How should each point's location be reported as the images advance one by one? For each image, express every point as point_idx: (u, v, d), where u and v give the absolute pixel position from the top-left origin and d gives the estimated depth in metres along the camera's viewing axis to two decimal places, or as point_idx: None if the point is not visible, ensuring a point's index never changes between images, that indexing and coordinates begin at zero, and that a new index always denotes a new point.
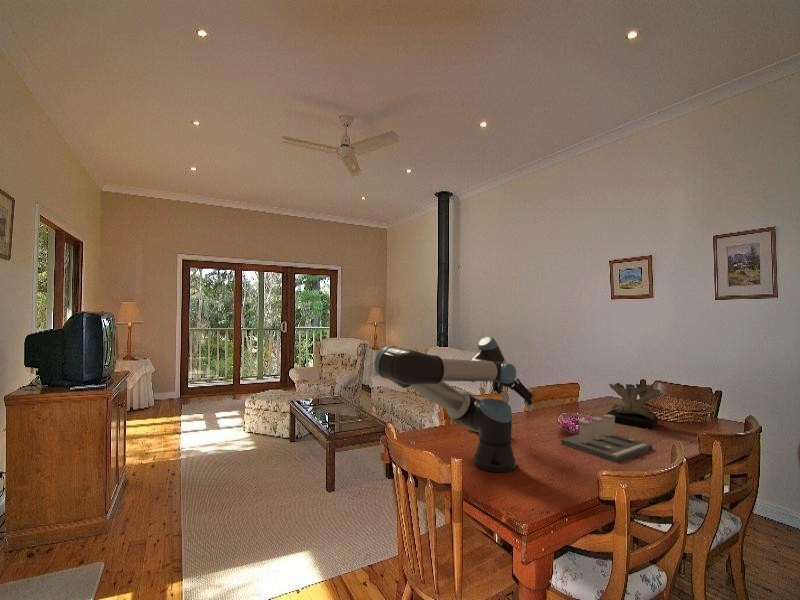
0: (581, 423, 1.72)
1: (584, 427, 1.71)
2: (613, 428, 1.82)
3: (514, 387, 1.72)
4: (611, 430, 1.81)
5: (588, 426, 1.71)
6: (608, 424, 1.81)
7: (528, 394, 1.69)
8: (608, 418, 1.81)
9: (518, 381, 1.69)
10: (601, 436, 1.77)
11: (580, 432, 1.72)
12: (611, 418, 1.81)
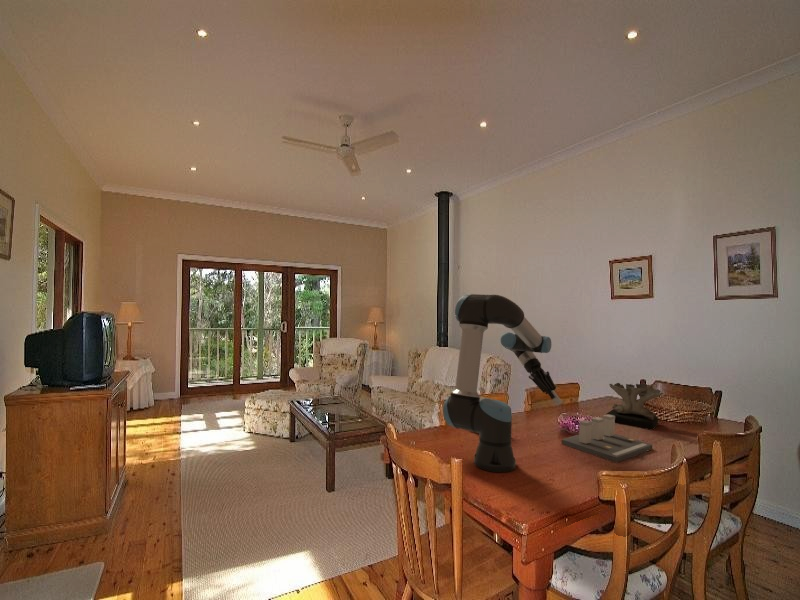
0: (581, 423, 1.72)
1: (584, 427, 1.71)
2: (613, 428, 1.82)
3: None
4: (611, 430, 1.81)
5: (588, 426, 1.71)
6: (608, 424, 1.81)
7: None
8: (608, 418, 1.81)
9: None
10: (601, 436, 1.77)
11: (580, 432, 1.72)
12: (611, 418, 1.81)
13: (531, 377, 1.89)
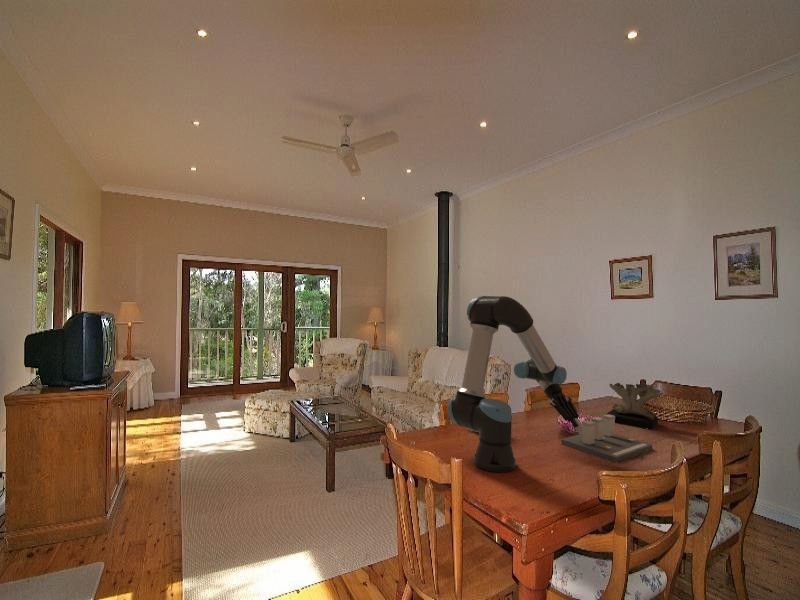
0: (584, 424, 1.71)
1: (587, 428, 1.70)
2: (613, 428, 1.82)
3: None
4: (611, 430, 1.81)
5: (591, 427, 1.70)
6: (608, 424, 1.81)
7: None
8: (608, 418, 1.81)
9: None
10: (601, 436, 1.77)
11: (583, 433, 1.71)
12: (611, 418, 1.81)
13: (553, 404, 1.80)
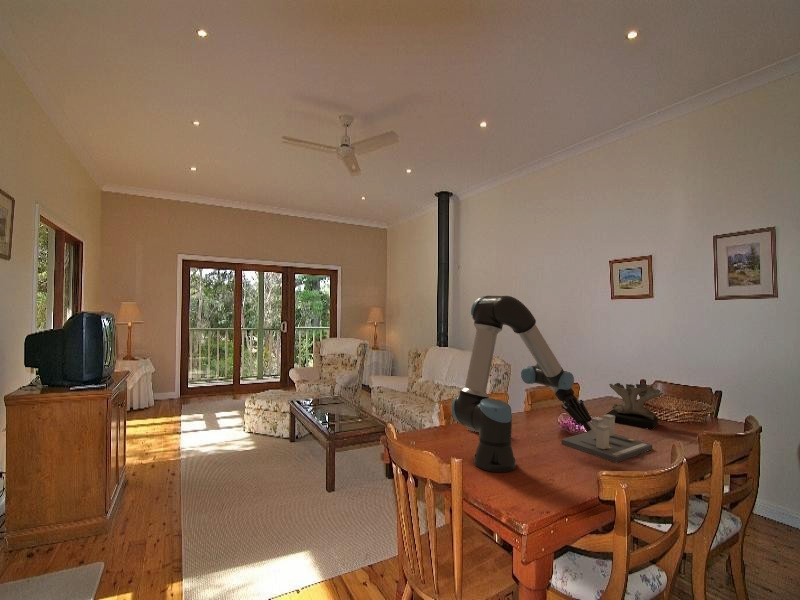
0: (598, 428, 1.66)
1: (601, 432, 1.65)
2: (613, 428, 1.82)
3: None
4: (611, 430, 1.81)
5: (606, 431, 1.65)
6: (608, 424, 1.81)
7: None
8: (608, 418, 1.81)
9: None
10: None
11: (598, 438, 1.66)
12: (611, 418, 1.81)
13: (564, 407, 1.75)
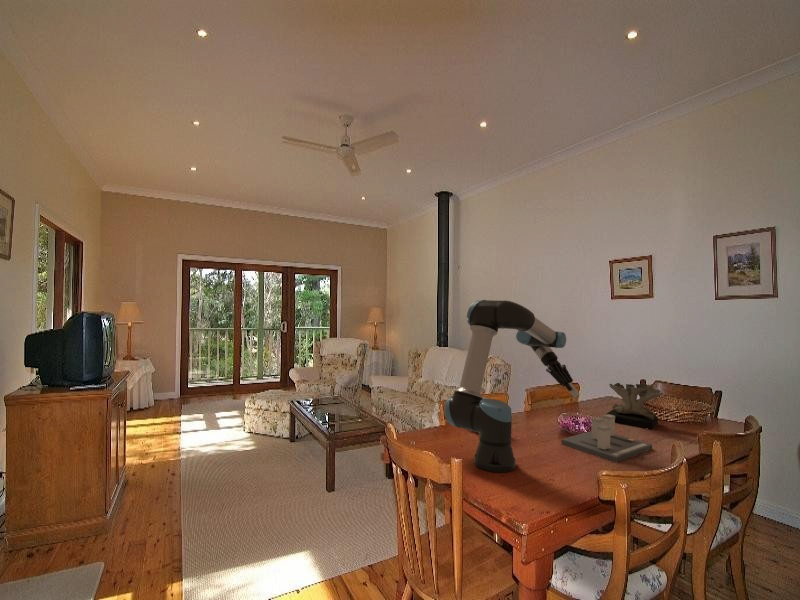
0: (599, 428, 1.65)
1: (603, 432, 1.64)
2: (613, 428, 1.82)
3: None
4: (611, 430, 1.81)
5: (607, 431, 1.65)
6: (608, 424, 1.81)
7: None
8: (608, 418, 1.81)
9: None
10: None
11: (599, 438, 1.66)
12: (611, 418, 1.81)
13: (548, 370, 1.95)
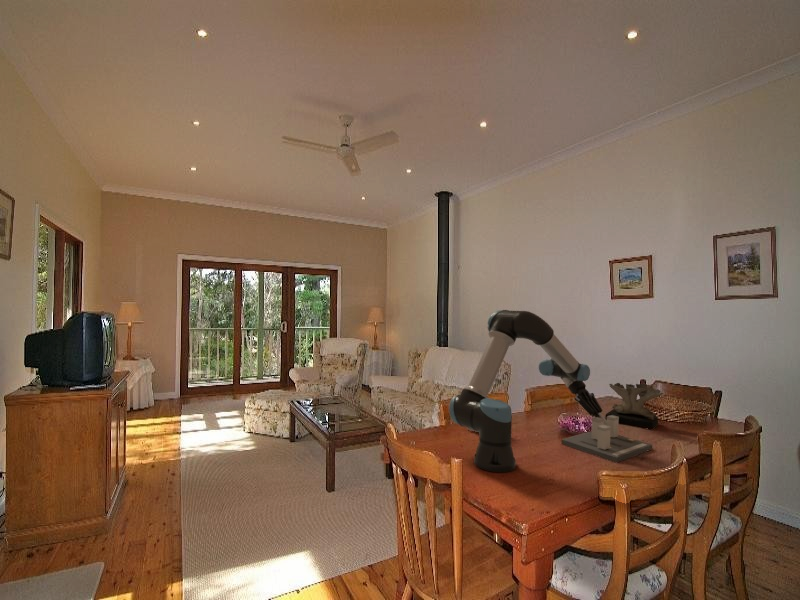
0: (599, 428, 1.65)
1: (603, 432, 1.64)
2: (617, 429, 1.81)
3: None
4: (615, 431, 1.80)
5: (607, 431, 1.65)
6: (612, 425, 1.79)
7: None
8: (612, 419, 1.79)
9: None
10: None
11: (599, 438, 1.66)
12: (615, 419, 1.80)
13: (577, 399, 1.90)
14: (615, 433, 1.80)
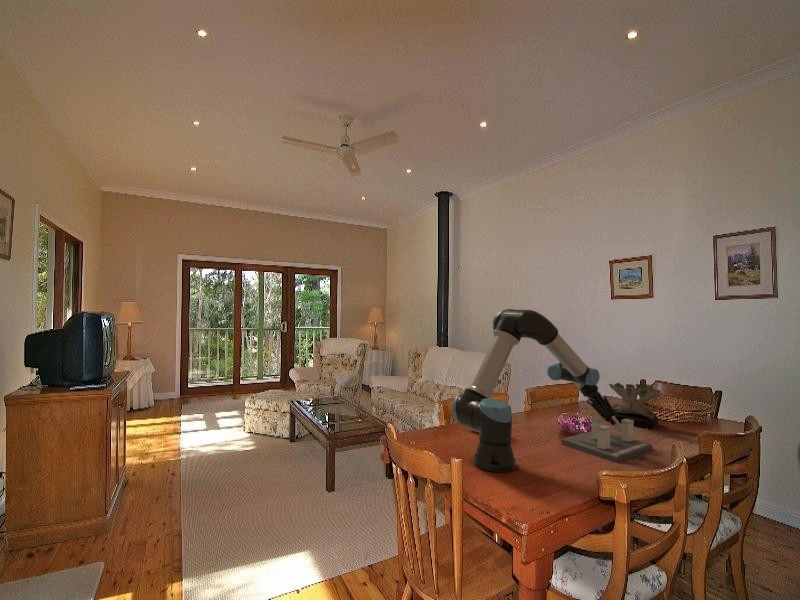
0: (599, 428, 1.65)
1: (603, 432, 1.64)
2: (632, 433, 1.75)
3: None
4: (630, 436, 1.74)
5: (607, 431, 1.65)
6: (627, 429, 1.74)
7: None
8: (627, 423, 1.74)
9: None
10: None
11: (599, 438, 1.66)
12: (630, 423, 1.74)
13: (590, 402, 1.84)
14: (630, 437, 1.74)
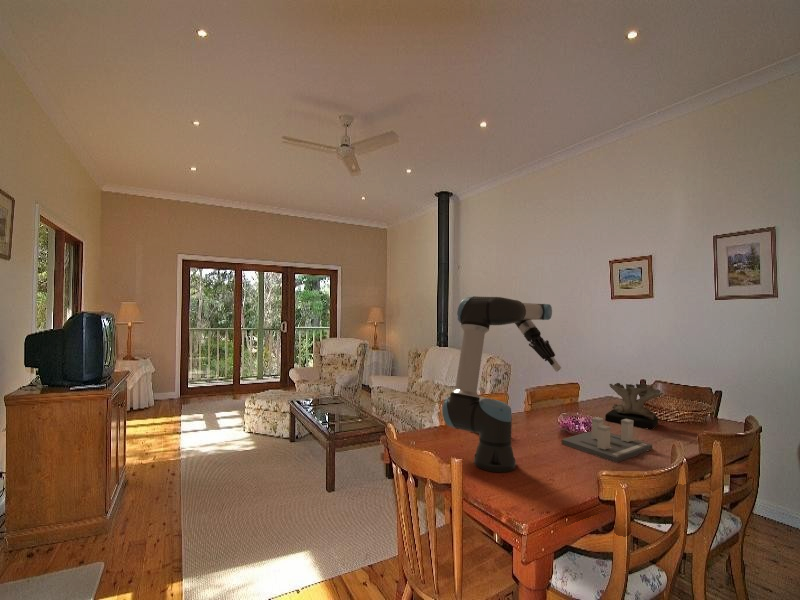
0: (599, 428, 1.65)
1: (603, 432, 1.64)
2: (631, 433, 1.75)
3: None
4: (630, 436, 1.74)
5: (607, 431, 1.65)
6: (626, 429, 1.74)
7: None
8: (626, 423, 1.74)
9: None
10: None
11: (599, 438, 1.66)
12: (630, 423, 1.74)
13: (531, 344, 1.96)
14: (630, 437, 1.74)
